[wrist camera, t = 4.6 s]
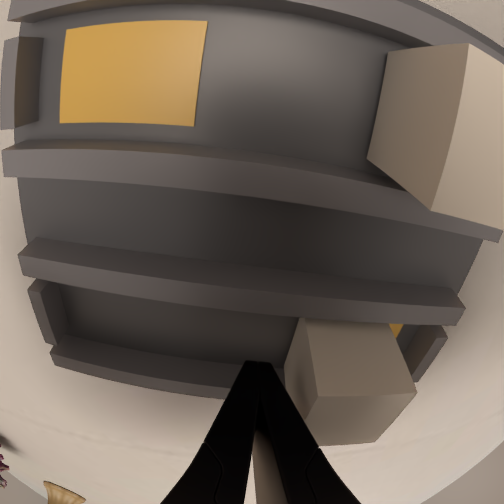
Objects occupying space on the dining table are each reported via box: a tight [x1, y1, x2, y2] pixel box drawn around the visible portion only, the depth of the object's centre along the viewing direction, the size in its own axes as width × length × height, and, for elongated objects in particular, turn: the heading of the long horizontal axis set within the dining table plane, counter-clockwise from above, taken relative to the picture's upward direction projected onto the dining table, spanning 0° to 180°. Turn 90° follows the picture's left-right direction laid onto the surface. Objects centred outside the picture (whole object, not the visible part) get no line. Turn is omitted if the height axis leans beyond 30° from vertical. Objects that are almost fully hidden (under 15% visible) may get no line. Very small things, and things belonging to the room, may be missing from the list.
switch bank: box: [0, 0, 504, 399], centre depth 9 cm, size 16×15×3 cm
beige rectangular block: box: [367, 43, 504, 230], centre depth 6 cm, size 3×3×4 cm
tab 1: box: [284, 318, 418, 446], centre depth 9 cm, size 3×3×4 cm
